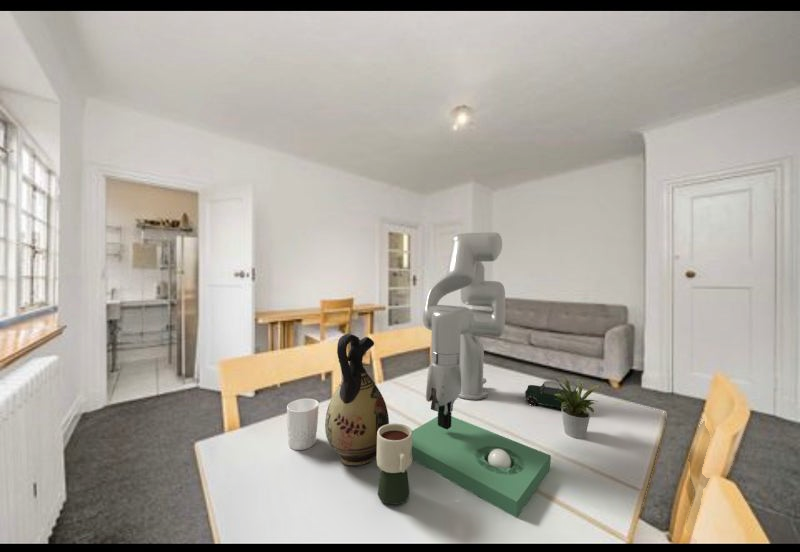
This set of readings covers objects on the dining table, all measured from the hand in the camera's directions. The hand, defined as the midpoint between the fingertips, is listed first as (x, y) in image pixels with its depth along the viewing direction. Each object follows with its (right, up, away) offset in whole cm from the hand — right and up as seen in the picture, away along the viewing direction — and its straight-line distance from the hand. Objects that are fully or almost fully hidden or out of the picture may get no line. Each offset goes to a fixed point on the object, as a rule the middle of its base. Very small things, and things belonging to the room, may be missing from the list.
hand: (444, 426), depth 80 cm
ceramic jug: (-23, -5, -6) cm, 24 cm away
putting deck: (+6, -5, -6) cm, 10 cm away
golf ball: (+11, -3, -11) cm, 16 cm away
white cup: (-37, -4, -1) cm, 37 cm away
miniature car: (+41, -6, +26) cm, 49 cm away
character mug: (-13, -5, -19) cm, 23 cm away
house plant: (+37, -6, +7) cm, 38 cm away
